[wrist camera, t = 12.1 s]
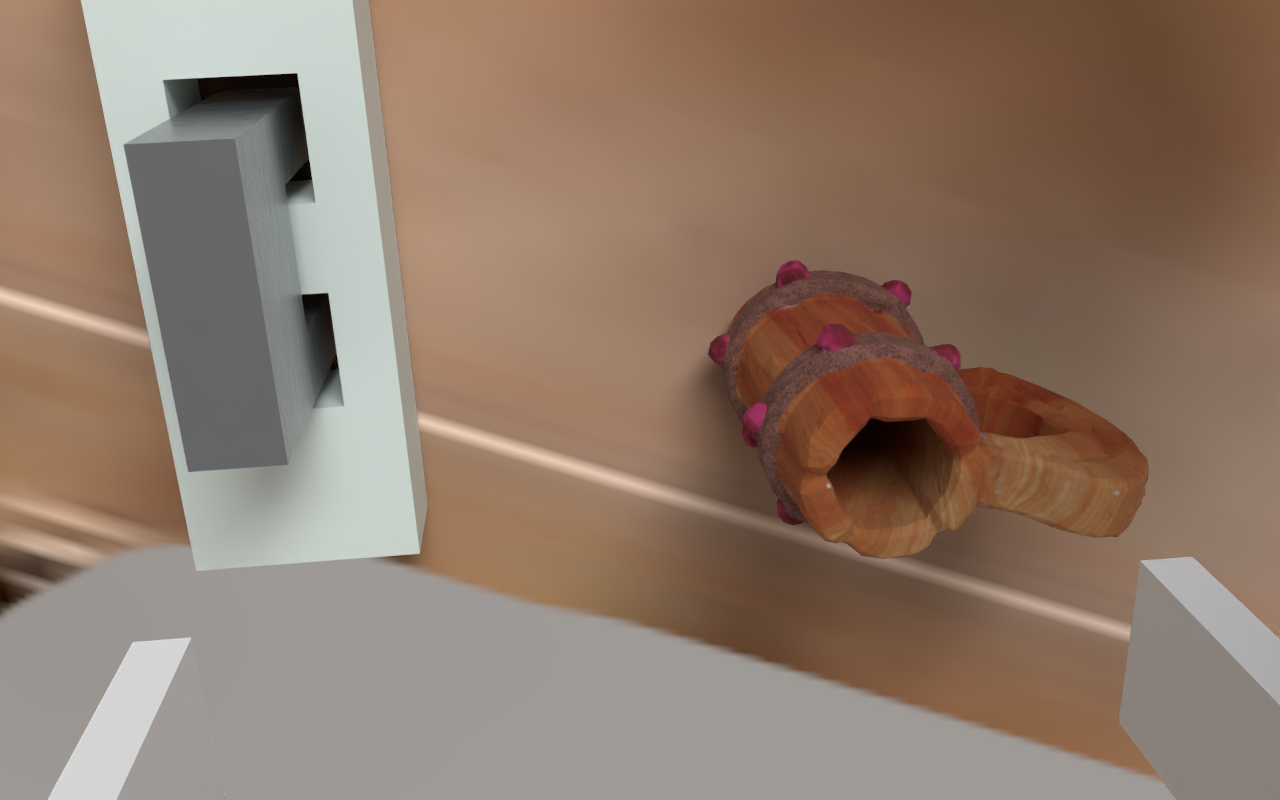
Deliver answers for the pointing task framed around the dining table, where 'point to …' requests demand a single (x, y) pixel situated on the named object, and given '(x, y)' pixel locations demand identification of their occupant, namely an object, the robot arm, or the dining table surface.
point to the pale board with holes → (327, 263)
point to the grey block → (231, 275)
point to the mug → (907, 424)
